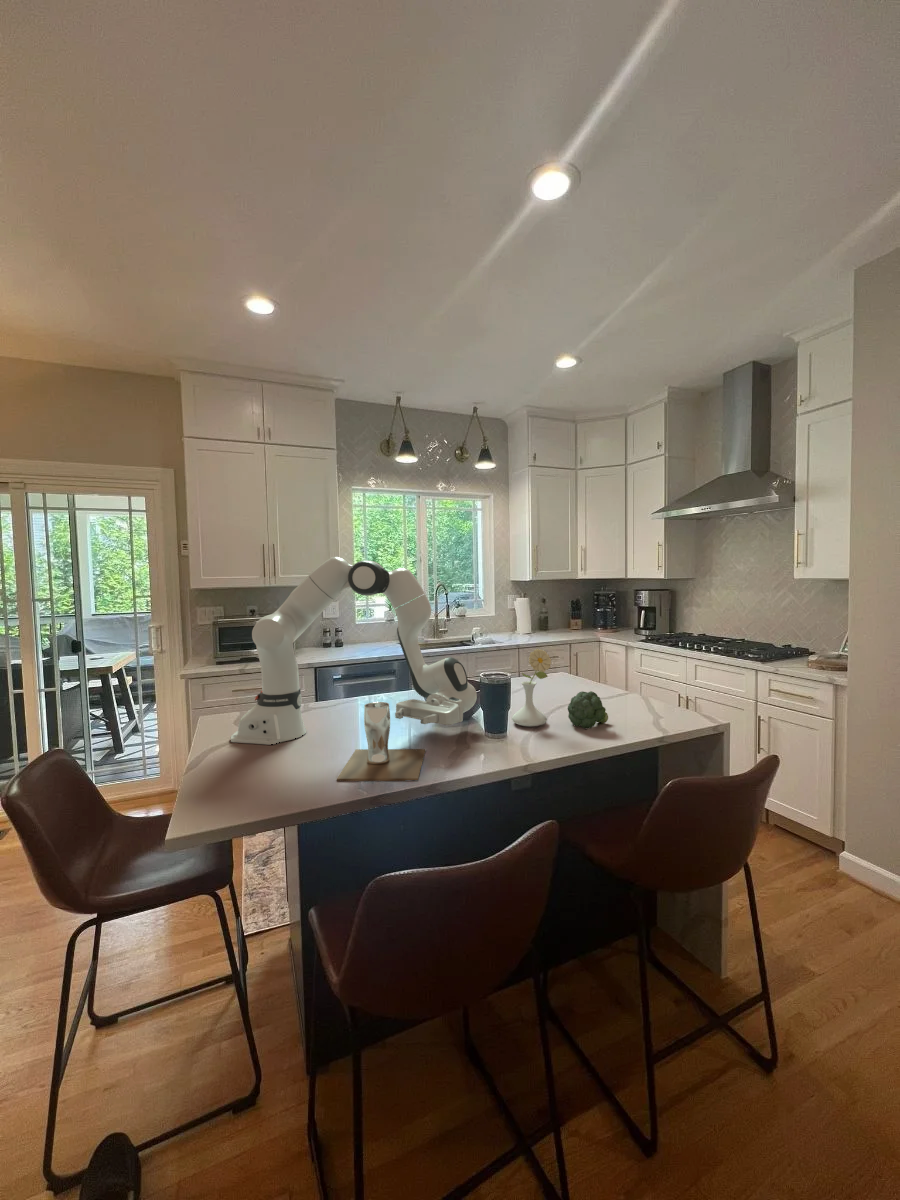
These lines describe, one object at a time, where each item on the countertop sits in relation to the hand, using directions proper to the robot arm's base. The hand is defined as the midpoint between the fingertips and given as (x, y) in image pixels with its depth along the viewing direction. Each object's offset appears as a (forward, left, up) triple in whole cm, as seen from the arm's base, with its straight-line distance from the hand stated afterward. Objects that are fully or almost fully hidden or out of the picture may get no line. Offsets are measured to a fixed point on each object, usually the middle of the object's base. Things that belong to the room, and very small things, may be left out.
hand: (409, 718), depth 139 cm
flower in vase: (+37, +25, -10) cm, 46 cm away
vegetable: (+55, +23, -10) cm, 60 cm away
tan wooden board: (-6, -9, -10) cm, 14 cm away
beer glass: (-8, -7, -9) cm, 14 cm away
